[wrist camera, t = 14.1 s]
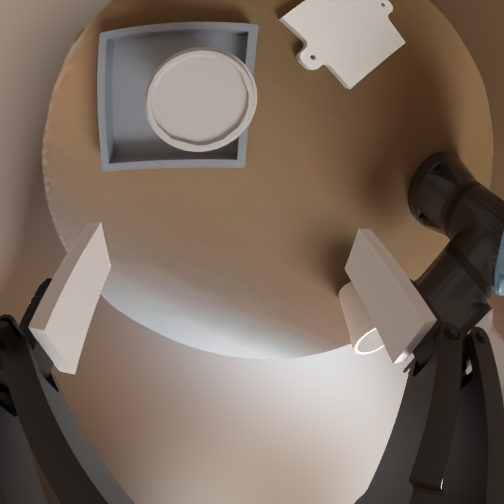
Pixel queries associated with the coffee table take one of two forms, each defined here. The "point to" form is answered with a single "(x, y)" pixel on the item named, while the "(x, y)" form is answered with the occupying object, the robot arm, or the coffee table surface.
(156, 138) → the slate tray
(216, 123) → the disposable coffee cup
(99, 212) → the coffee table surface
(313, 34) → the mounting plate
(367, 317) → the foam cup
